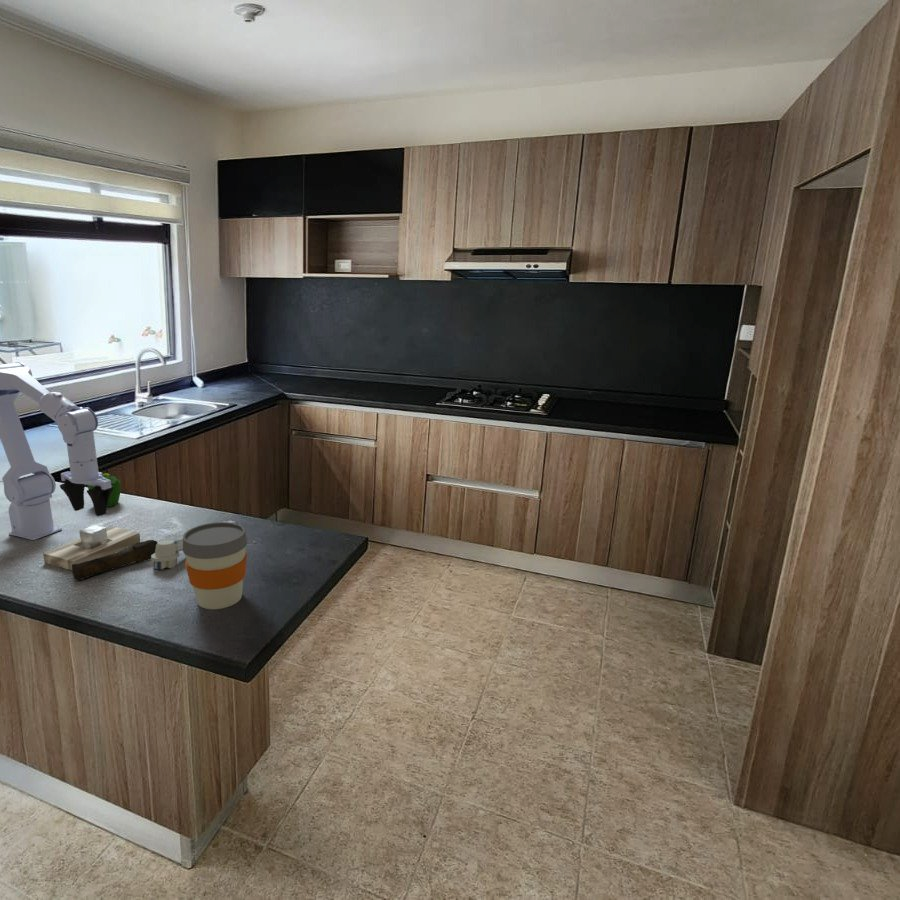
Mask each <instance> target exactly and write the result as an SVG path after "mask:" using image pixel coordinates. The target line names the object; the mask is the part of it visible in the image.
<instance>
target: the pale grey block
mask: <svg viewBox="0 0 900 900" xmlns="http://www.w3.org/2000/svg"><path fill="white" fill-rule="evenodd" d="M106 528H107V527H104V526H101V525H96V524H92V525H90V526H88V527H85V528H82V529H80V530H78V531H79V539H81V546H82V547H83V548H87V549H94V548H96V547H98V546H101V545H103V544H105V543H108V538H107V531H106Z"/></svg>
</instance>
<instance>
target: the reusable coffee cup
mask: <svg viewBox="0 0 900 900" xmlns="http://www.w3.org/2000/svg"><path fill="white" fill-rule="evenodd" d="M182 537H183V550H182V553H183V554H184V555H185V561H184V562H185V563H184V564H185V565H184V566H185V569H186V573H187V575H188V576H187V577H188V580H189V581H188V582H189V583H190V585H191V586H192V588H193V591H194V595H195V600H196V604H197V605H198V607H200V608H203V609H206V610H220V609H225V608H228V607H231V606H233V605H235V604H237V603H238V602H240V600H241V599H242V597H243V585H244V584H243V583H244V578H245V577H246V572H247V571H246V570H247V558H248V555H247V552H246V546H247V544H248V538H247V535H246V528H245V527H244V526H243V525H241V524H239V523H238V524H236V523H230V522H226V521H224V522H221V521H219V522H218V521H217V522H216V521H215V522H210V523H204V524H200V525H197V526H194V527H192V528H189V529H188V530H187V531H186V532H184V534H183V535H182Z"/></svg>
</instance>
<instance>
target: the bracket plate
mask: <svg viewBox="0 0 900 900" xmlns="http://www.w3.org/2000/svg"><path fill="white" fill-rule="evenodd" d="M106 531H107V538H108V543H105V544H103V545H101V546H98V547H96V548H94V549H87V548H83V547H82V546H81V539H80V538H78V539H75V540H72V541H70V542H68V543H65V544H63V545H61V546H58V547H56V548H54V549H50V550H48V551H46V552H44V553H42V554H43V560H44V564H46V563H47V565H50V564H51V566H54V567H57V566H58V568H61V567H62V569H65V570H68V569H69V571H72V564H80V563H83V562H86V561H90V560H94V559H96V558H101V557H105V556H108V555H111V554H114V553H116V552H117V553H118V552H121V551H124V550H126V549H128V548H130V547H132V546H133V545H134V544H136V543H139V542H140V541H141V535H140V534H141V533H140V532H139V531H134V530H131V529H130V530H129V529H126V528H120V527H116V526H108V527H106ZM129 546H130V547H129ZM127 547H128V548H127ZM125 548H126V549H125Z"/></svg>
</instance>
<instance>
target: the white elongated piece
mask: <svg viewBox="0 0 900 900" xmlns="http://www.w3.org/2000/svg"><path fill="white" fill-rule="evenodd" d="M220 522H230V523H236V524H239V523H238V521H237V520H234V519H231V520H228V521H223V520H222V521H220ZM157 542H158V543H157V545H156V550H155V553H154V554H153V555H151V559H150V560H151V561H152V567H153V569H155V570H164V569H165V568H168V569H172V568H175V566H176V565H177V564H178V559H179V557H180V552H183V536H180V537H178V538H175V539H173V540H171V539H169V540H168V539H166V540H160V541H157Z"/></svg>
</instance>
